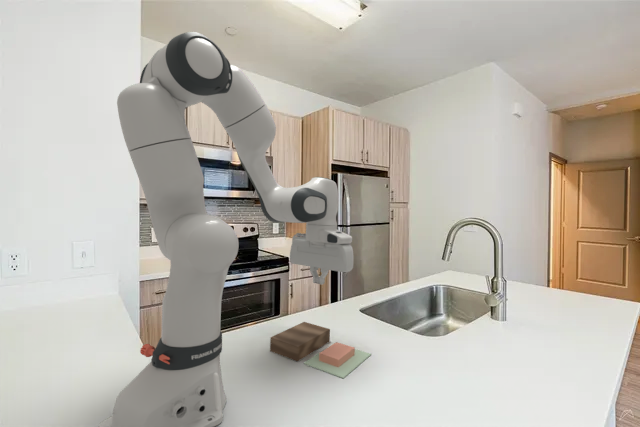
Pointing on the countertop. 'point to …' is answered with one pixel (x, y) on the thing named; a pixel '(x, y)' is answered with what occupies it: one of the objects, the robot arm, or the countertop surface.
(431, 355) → the countertop surface
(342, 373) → the mat
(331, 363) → the salmon pink eraser
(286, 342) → the brown wooden block
